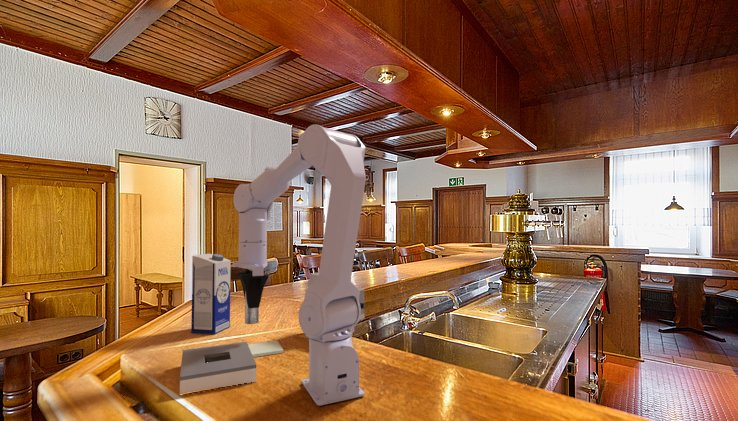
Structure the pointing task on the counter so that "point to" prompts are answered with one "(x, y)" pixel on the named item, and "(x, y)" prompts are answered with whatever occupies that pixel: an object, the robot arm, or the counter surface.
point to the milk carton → (210, 293)
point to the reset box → (216, 367)
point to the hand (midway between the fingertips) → (252, 306)
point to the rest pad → (265, 348)
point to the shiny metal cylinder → (251, 314)
